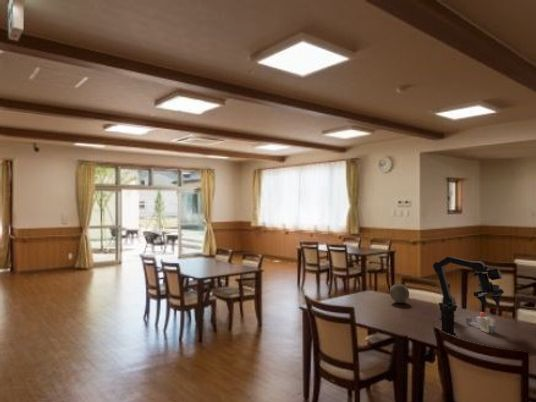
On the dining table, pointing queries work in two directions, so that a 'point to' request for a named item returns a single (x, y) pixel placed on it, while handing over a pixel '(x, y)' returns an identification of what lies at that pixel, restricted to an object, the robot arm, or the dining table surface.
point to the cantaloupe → (399, 293)
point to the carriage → (487, 323)
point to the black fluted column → (448, 318)
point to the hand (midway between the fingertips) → (492, 306)
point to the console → (478, 320)
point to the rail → (469, 321)
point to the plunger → (482, 314)
